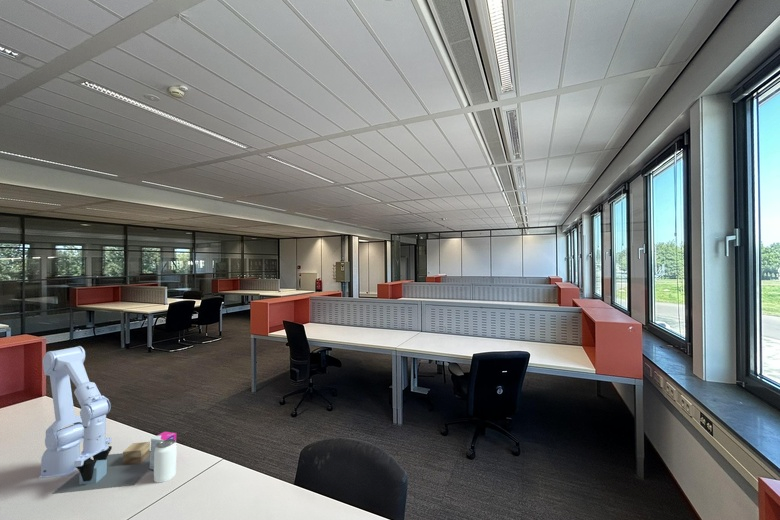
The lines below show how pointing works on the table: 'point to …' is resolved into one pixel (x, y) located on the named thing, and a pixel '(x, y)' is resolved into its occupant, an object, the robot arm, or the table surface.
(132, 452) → the slab upper
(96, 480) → the cube
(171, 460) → the can
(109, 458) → the mat
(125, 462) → the slab lower
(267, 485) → the table surface
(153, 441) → the supplement box
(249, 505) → the table surface
